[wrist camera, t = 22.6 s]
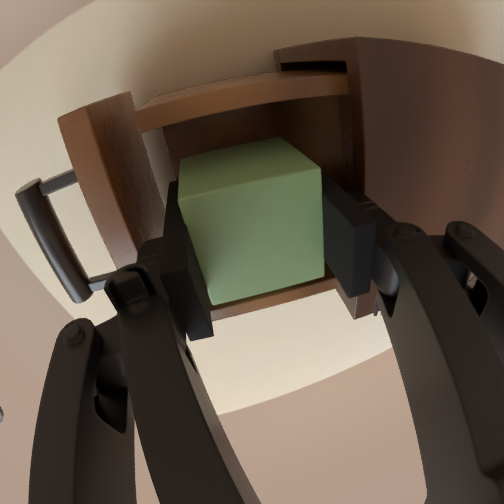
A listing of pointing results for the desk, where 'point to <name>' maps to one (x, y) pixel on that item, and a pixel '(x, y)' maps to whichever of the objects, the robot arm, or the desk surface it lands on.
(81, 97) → the desk surface
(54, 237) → the drawer
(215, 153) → the block
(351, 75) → the cabinet
